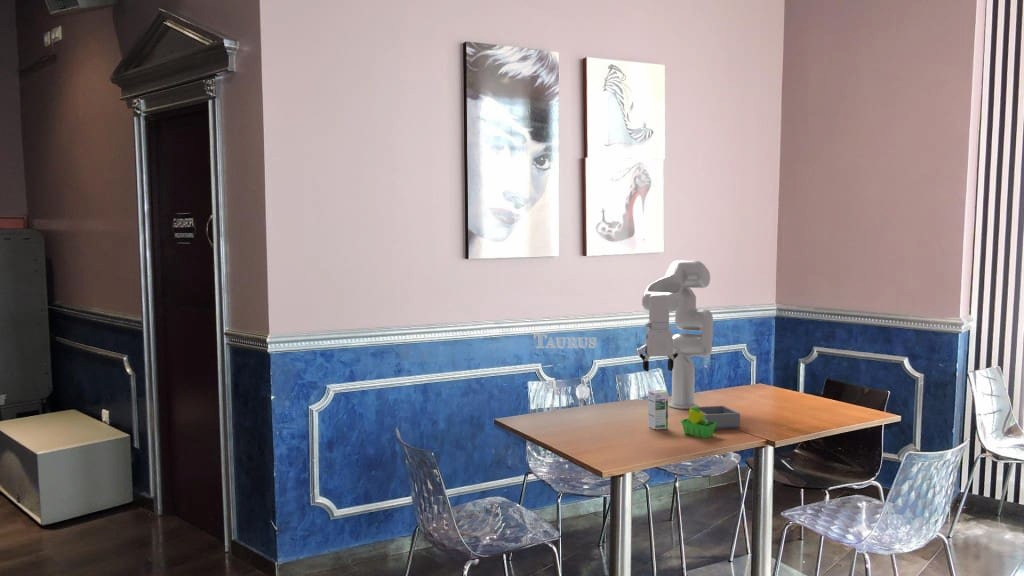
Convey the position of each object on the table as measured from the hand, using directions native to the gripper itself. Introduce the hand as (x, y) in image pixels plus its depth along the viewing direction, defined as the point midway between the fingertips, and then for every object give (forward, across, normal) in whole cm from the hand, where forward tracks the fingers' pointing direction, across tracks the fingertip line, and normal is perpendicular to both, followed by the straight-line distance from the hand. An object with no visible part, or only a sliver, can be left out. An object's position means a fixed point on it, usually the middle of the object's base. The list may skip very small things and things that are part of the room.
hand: (658, 370), depth 306 cm
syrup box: (+22, 0, +1) cm, 23 cm away
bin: (+22, +23, 0) cm, 32 cm away
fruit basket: (+23, +11, -13) cm, 28 cm away
